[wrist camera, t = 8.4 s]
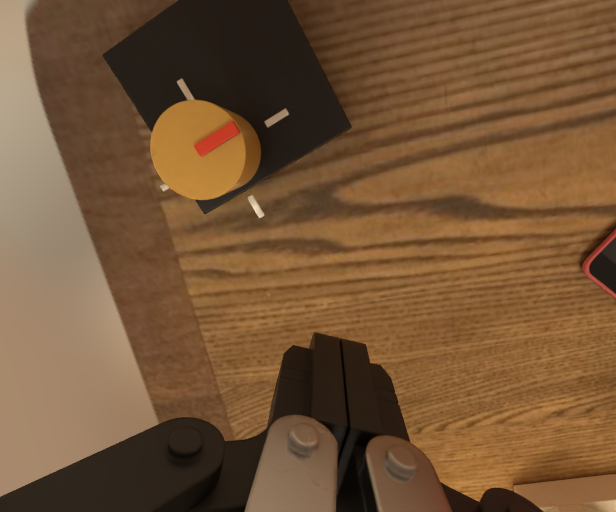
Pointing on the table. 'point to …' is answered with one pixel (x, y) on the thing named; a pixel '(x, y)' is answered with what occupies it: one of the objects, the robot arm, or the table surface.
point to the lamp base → (572, 494)
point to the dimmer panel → (234, 76)
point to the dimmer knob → (204, 149)
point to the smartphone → (603, 265)
